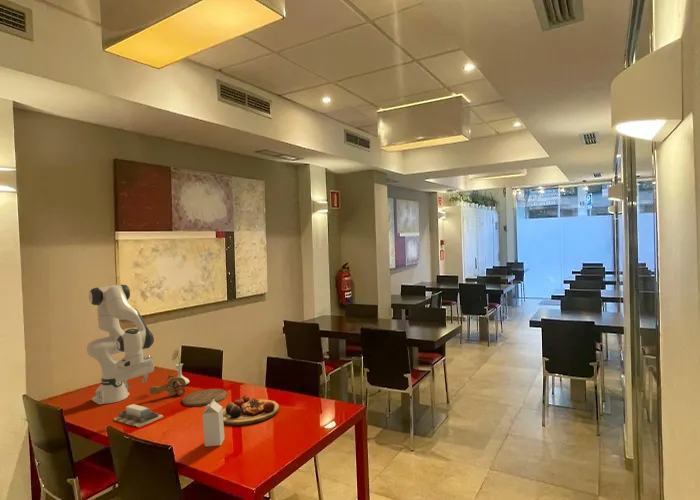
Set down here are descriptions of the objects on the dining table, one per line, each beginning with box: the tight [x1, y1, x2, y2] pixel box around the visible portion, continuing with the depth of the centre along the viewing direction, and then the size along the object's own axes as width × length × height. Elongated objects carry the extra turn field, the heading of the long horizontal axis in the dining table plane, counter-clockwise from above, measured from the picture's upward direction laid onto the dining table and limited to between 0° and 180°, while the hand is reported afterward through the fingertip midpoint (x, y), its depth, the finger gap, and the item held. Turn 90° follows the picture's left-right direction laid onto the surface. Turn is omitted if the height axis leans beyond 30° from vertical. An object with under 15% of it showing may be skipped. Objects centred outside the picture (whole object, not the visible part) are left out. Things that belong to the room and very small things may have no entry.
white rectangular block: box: [125, 403, 151, 418], centre depth 231 cm, size 16×4×5 cm, turn 57°
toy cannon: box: [148, 372, 186, 397], centre depth 264 cm, size 8×21×14 cm, turn 122°
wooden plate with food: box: [222, 394, 280, 426], centre depth 229 cm, size 32×32×8 cm
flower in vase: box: [171, 348, 190, 386], centre depth 284 cm, size 13×11×25 cm
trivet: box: [182, 388, 228, 408], centre depth 257 cm, size 25×25×2 cm
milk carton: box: [202, 399, 225, 447], centre depth 196 cm, size 7×7×19 cm
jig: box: [113, 409, 164, 428], centre depth 231 cm, size 23×14×3 cm, turn 58°
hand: (136, 385), depth 231 cm, fingers open, 8 cm apart
